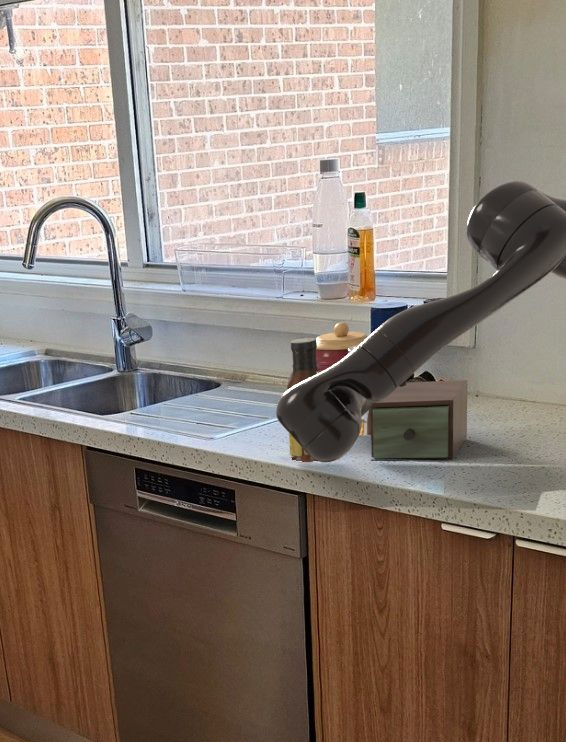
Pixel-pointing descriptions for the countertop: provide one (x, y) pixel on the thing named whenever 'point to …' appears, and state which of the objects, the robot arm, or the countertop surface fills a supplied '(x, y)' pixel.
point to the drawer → (411, 432)
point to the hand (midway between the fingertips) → (373, 365)
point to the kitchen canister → (336, 345)
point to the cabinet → (433, 396)
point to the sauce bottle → (301, 371)
